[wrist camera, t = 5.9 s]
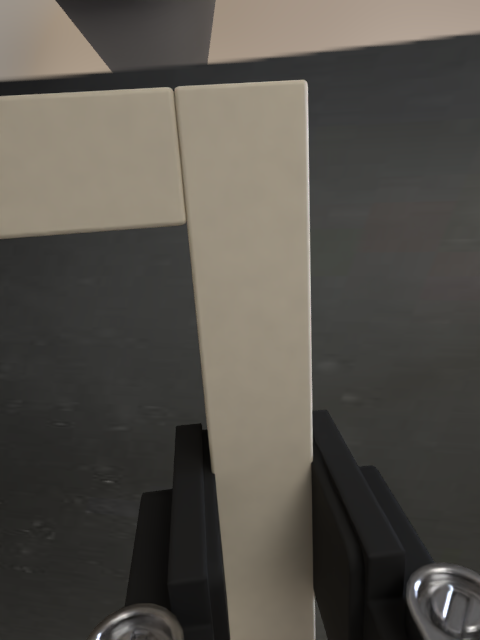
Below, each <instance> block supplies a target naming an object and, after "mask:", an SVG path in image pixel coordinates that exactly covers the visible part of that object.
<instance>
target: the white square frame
mask: <svg viewBox="0 0 480 640" xmlns="http://www.w3.org/2000/svg"><path fill="white" fill-rule="evenodd" d="M186 220H187V228H188V238H189V248H190V258H191V268H192V278H193V288H194V298H195V308H196V318H197V328H198V339H199V349H200V359H201V369H202V379H203V389H204V399H205V409H206V419H207V429H208V439H209V449H210V459H211V470H212V473H214V474H215V480H216V490H217V500H218V511H219V521H220V531H221V542H222V552H223V563H224V573H225V583H226V594H227V604H228V616H229V628H230V640H315V593H314V589H313V538H312V471H311V462H313V427H312V354H311V281H310V208H309V135H308V84H307V82H306V81H304V80H290V81H271V82H253V83H234V84H216V85H197V86H179V87H177V88H175V91H174V92H173V90H172V89H171V88H168V87H163V88H144V89H125V90H107V91H88V92H70V93H51V94H33V95H14V96H0V239H9V238H22V237H35V236H48V235H61V234H74V233H87V232H101V231H114V230H127V229H140V228H153V227H166V226H179V225H183V224H185V223H186Z"/></svg>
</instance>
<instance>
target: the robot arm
mask: <svg viewBox="0 0 480 640" xmlns="http://www.w3.org/2000/svg"><path fill="white" fill-rule="evenodd" d="M312 427H313V462H311V471H312V538H313V589H314V593H315V596H316V600H317V603H318V607H319V610H320V614H321V617H322V621H323V624H324V628H325V631H326V635H327V638H328V640H480V574H479V573H477V572H475V571H473V570H471V569H468V568H466V567H464V566H460V565H456V564H451V563H435V562H434V561H433V559H432V557H431V556H430V554H429V552H428V551H427V549H426V547H425V546H424V544H423V543H422V541H421V539H420V538H419V536H418V534H417V533H416V531H415V530H414V528H413V526H412V525H411V523H410V521H409V520H408V518H407V517H406V515H405V513H404V512H403V510H402V508H401V507H400V505H399V503H398V502H397V500H396V499H395V497H394V495H393V494H392V492H391V490H390V489H389V487H388V486H387V484H386V482H385V481H384V479H383V477H382V476H381V474H380V473H379V471H378V470H377V469H376V467H374V466H372V465H371V466H363V467H358V465H357V463H356V461H355V459H354V458H353V456H352V454H351V452H350V450H349V449H348V447H347V445H346V443H345V441H344V440H343V438H342V436H341V434H340V432H339V431H338V429H337V427H336V425H335V423H334V422H333V420H332V418H331V416H330V414H329V413H328V411H327V410H318V411H312ZM86 640H230V628H229V616H228V604H227V594H226V583H225V573H224V563H223V552H222V542H221V531H220V521H219V511H218V500H217V490H216V480H215V474H214V473H212V470H211V459H210V449H209V439H208V429H206V430H202V425H201V423H200V424H190V425H181V426H176V438H175V456H174V474H173V489H170V490H162V491H153V492H145V493H143V494H142V497H141V502H140V509H139V516H138V522H137V529H136V536H135V542H134V549H133V556H132V562H131V569H130V576H129V582H128V589H127V596H126V603H125V607H123V608H121V609H119V610H117V611H116V612H114V613H112V614H110V615H108V616H107V617H106V618H105V619H104V620H103V621H102V622H100V623H99V624H98V625H97V626H96V627H95V628H94V630H93V631H92V632H91V634H90V635H89V637H88V638H87V639H86Z"/></svg>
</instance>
